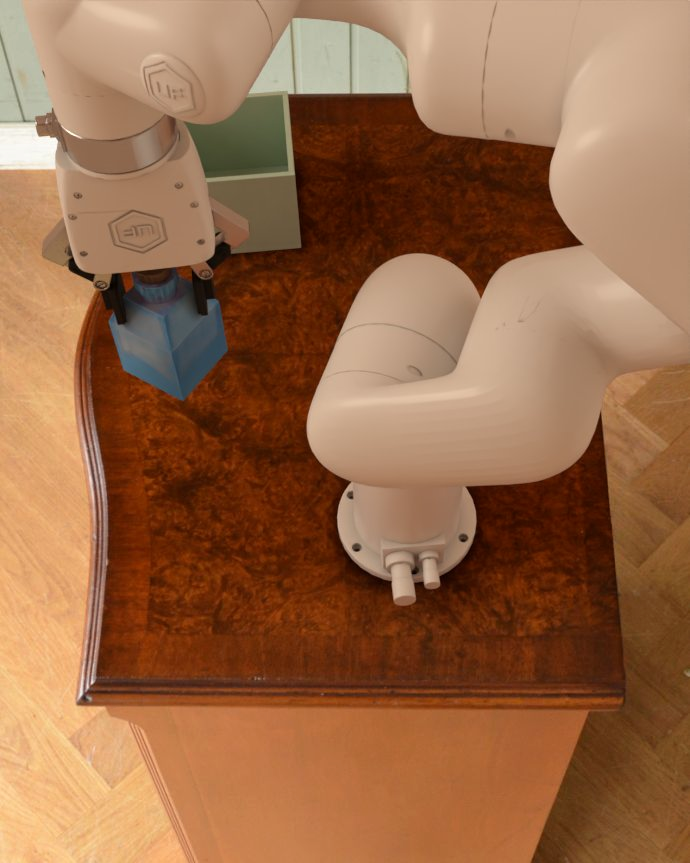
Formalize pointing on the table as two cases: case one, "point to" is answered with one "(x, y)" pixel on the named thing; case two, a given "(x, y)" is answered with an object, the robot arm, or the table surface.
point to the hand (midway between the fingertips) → (162, 305)
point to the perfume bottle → (168, 332)
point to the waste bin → (254, 169)
